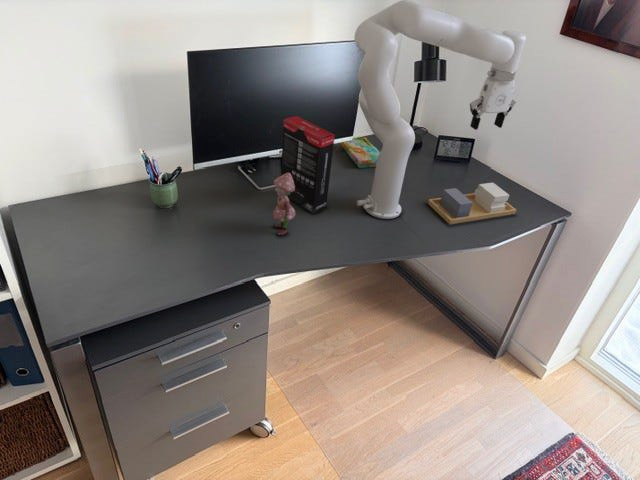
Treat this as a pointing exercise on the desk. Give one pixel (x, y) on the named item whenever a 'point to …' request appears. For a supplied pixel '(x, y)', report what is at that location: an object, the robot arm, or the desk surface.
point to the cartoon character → (284, 201)
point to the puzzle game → (361, 152)
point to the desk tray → (475, 213)
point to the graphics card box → (307, 162)
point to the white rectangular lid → (493, 192)
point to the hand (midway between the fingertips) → (485, 127)
